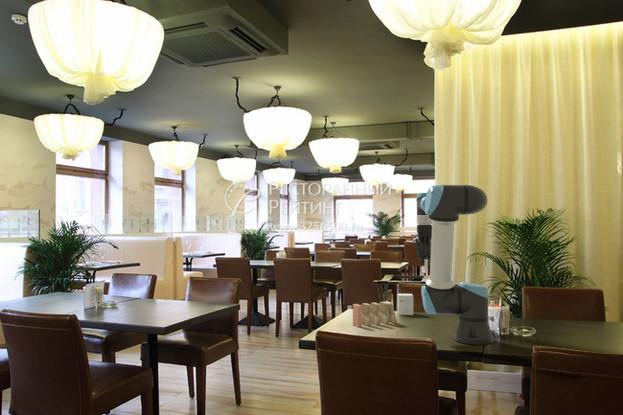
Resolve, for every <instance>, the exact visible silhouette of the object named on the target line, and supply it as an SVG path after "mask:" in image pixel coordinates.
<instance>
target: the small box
mask: <svg viewBox="0 0 623 415" xmlns="http://www.w3.org/2000/svg"><path fill="white" fill-rule="evenodd" d="M397 314H398V316H414V314H415V313H414V295H413V293H397Z"/></svg>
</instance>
